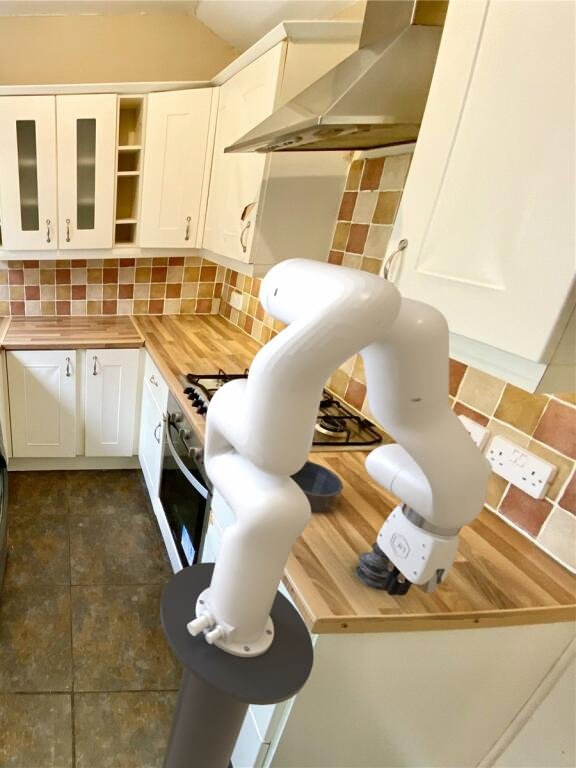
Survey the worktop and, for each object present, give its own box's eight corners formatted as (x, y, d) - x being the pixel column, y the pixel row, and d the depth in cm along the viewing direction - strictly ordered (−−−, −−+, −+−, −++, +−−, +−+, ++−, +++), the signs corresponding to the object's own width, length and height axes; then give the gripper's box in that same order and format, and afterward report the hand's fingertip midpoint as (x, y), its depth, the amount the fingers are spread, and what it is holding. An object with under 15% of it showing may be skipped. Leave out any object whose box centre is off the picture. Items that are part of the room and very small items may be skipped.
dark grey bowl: (314, 520, 95) (320, 504, 93) (260, 485, 106) (264, 469, 104) (349, 499, 101) (355, 483, 99) (294, 468, 113) (298, 453, 110)
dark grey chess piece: (379, 567, 83) (400, 522, 78) (395, 592, 78) (419, 546, 73) (348, 563, 84) (366, 518, 79) (361, 587, 79) (382, 541, 74)
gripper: (378, 485, 74) (348, 558, 82) (446, 551, 61) (403, 630, 69) (419, 485, 74) (385, 558, 82) (497, 551, 61) (448, 630, 69)
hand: (393, 591), depth 76 cm, fingers closed
